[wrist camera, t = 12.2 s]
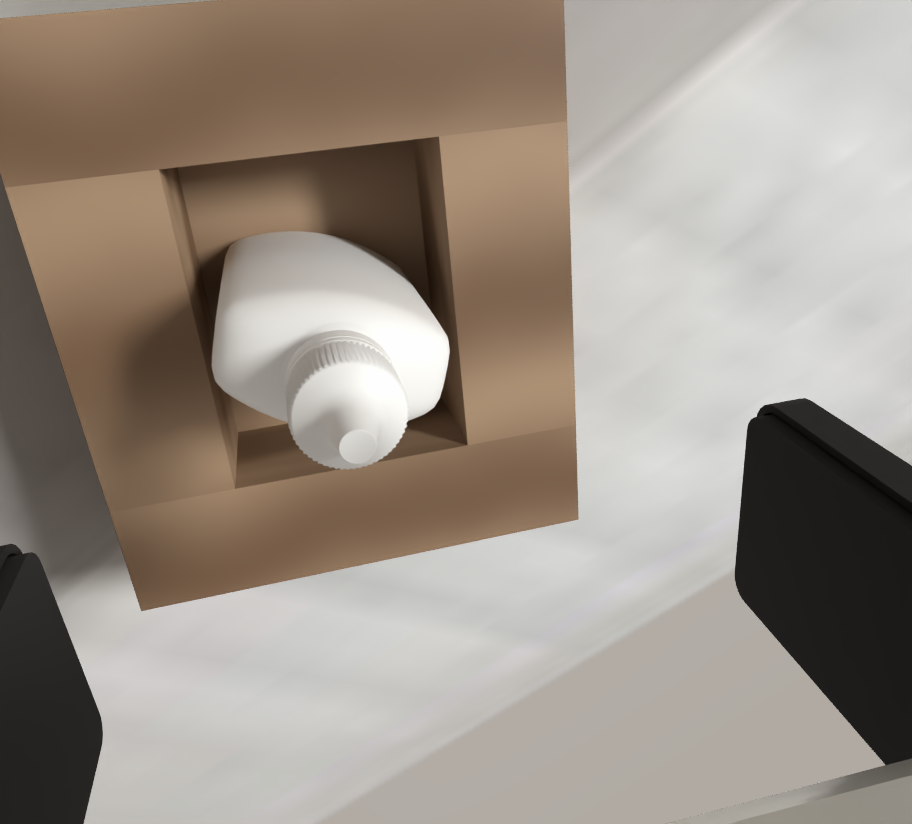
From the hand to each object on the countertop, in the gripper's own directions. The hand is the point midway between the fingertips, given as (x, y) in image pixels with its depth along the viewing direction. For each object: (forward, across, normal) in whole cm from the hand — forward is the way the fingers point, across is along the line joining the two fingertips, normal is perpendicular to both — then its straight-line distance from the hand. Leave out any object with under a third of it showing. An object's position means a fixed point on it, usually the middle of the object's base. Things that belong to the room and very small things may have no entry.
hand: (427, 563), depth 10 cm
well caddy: (+17, 0, +1) cm, 17 cm away
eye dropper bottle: (+17, +1, +1) cm, 17 cm away
